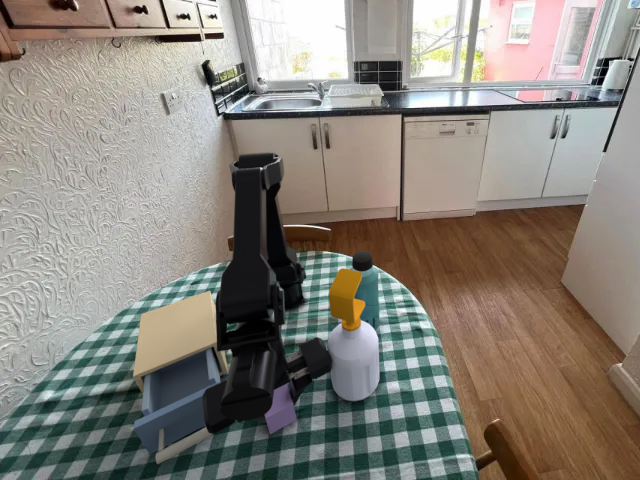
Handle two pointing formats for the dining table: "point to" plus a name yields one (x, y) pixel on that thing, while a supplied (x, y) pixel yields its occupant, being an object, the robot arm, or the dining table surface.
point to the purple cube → (280, 410)
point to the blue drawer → (176, 404)
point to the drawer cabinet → (176, 335)
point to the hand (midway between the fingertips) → (279, 411)
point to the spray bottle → (351, 341)
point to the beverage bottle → (367, 287)
